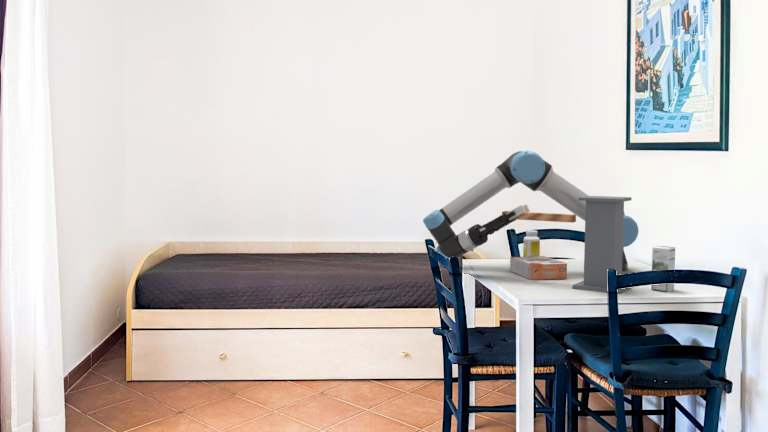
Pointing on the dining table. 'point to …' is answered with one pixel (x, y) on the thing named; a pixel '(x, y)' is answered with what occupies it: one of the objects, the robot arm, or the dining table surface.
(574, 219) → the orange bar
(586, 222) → the gray pedestal stand
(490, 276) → the dining table surface
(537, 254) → the supplement bottle
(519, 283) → the dining table surface
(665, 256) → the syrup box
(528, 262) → the cracker box
